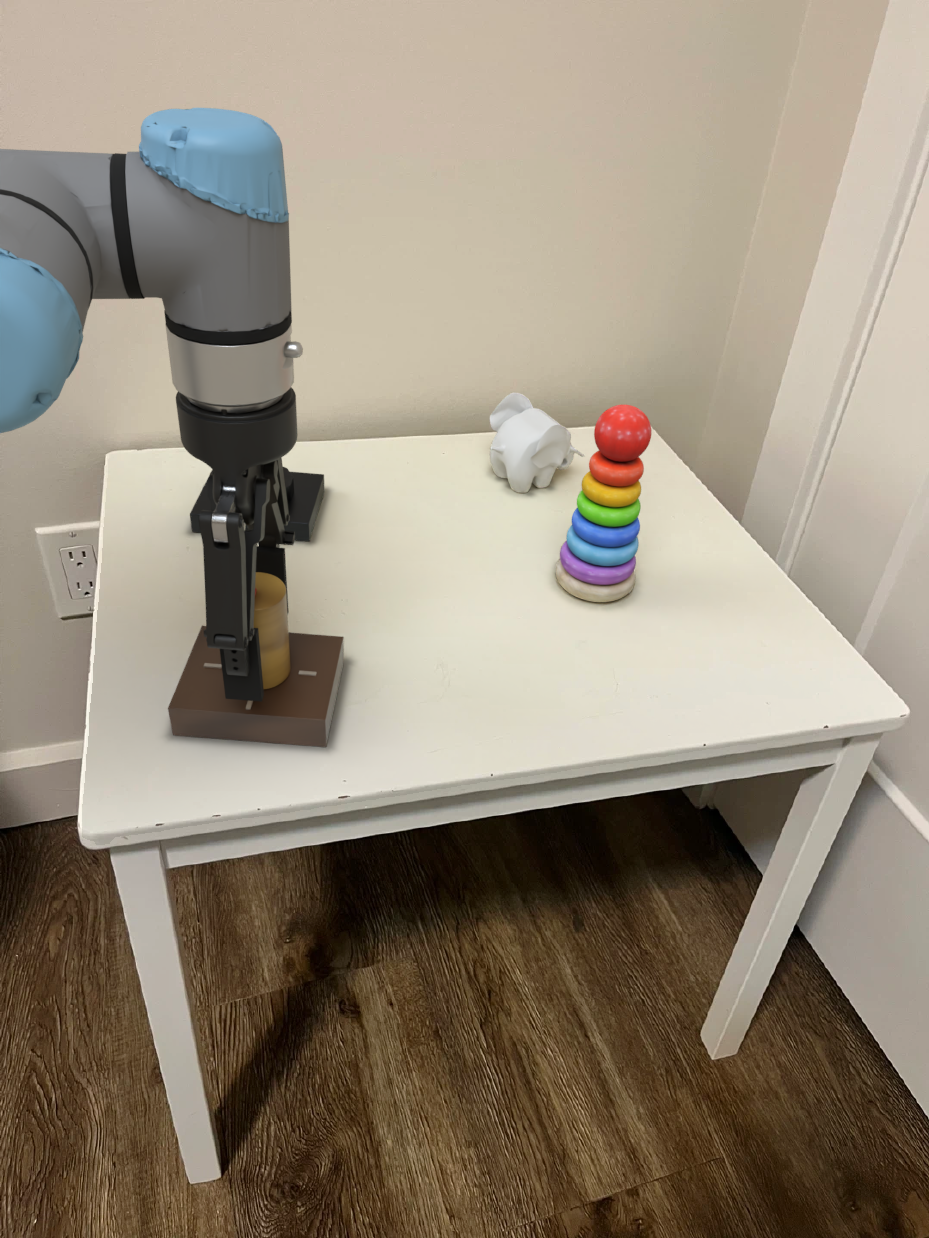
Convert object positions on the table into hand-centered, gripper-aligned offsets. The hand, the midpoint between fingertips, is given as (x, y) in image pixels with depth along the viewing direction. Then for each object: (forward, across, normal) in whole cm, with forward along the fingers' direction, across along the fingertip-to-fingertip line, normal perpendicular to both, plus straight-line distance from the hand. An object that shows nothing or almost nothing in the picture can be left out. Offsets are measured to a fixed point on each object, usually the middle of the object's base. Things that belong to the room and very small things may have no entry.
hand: (258, 652), depth 72 cm
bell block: (+5, +28, +6) cm, 29 cm away
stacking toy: (+5, +20, -29) cm, 36 cm away
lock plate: (+5, 0, 0) cm, 5 cm away
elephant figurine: (+5, +40, -23) cm, 46 cm away
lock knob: (+2, 0, 0) cm, 2 cm away
